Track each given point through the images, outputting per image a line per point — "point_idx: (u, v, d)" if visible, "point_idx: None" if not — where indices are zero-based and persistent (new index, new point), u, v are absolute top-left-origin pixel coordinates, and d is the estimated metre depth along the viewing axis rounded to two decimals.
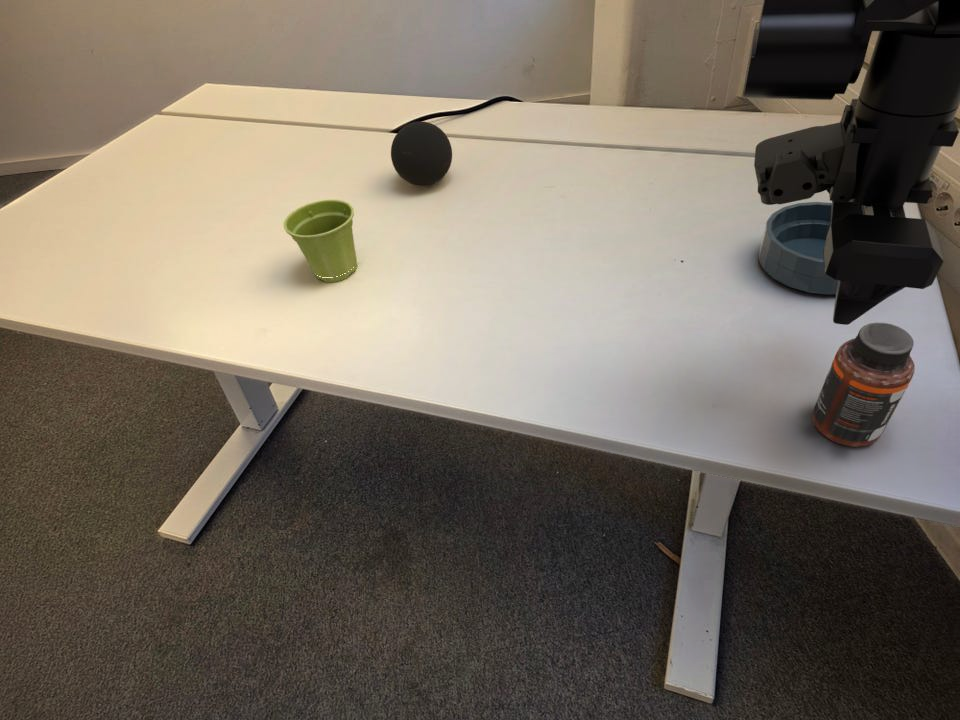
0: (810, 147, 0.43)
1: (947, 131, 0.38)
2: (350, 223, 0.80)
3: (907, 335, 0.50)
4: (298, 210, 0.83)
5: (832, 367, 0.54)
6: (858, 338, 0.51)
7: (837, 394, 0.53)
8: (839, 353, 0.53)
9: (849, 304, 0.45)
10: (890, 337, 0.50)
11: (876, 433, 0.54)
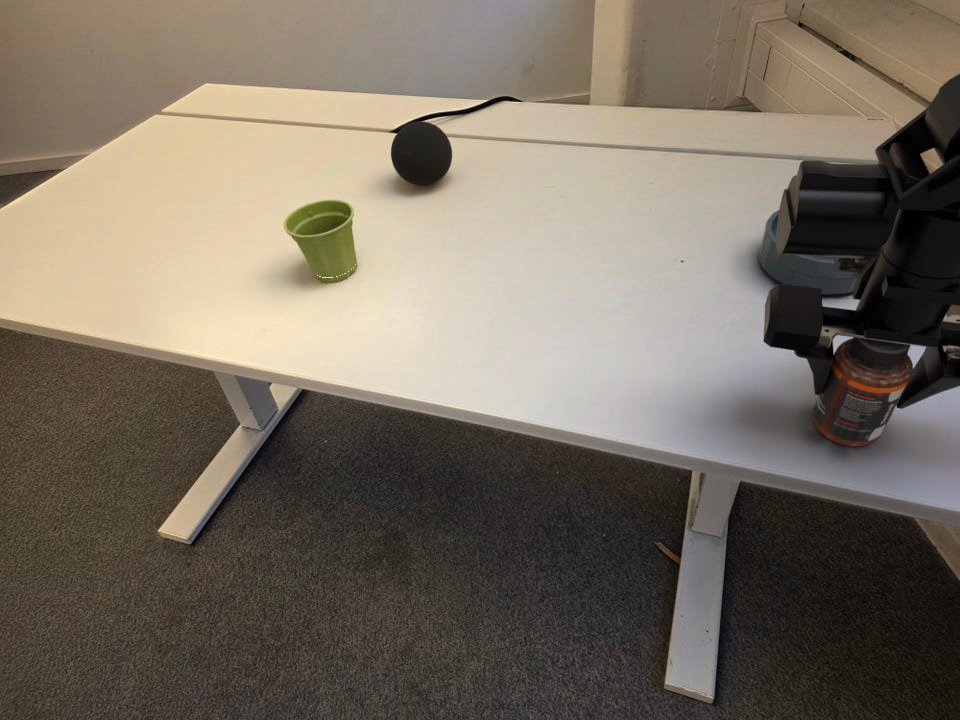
0: None
1: (887, 281, 0.44)
2: (350, 223, 0.80)
3: None
4: (298, 210, 0.83)
5: None
6: (855, 338, 0.51)
7: (836, 394, 0.53)
8: (837, 353, 0.53)
9: None
10: None
11: (876, 432, 0.54)
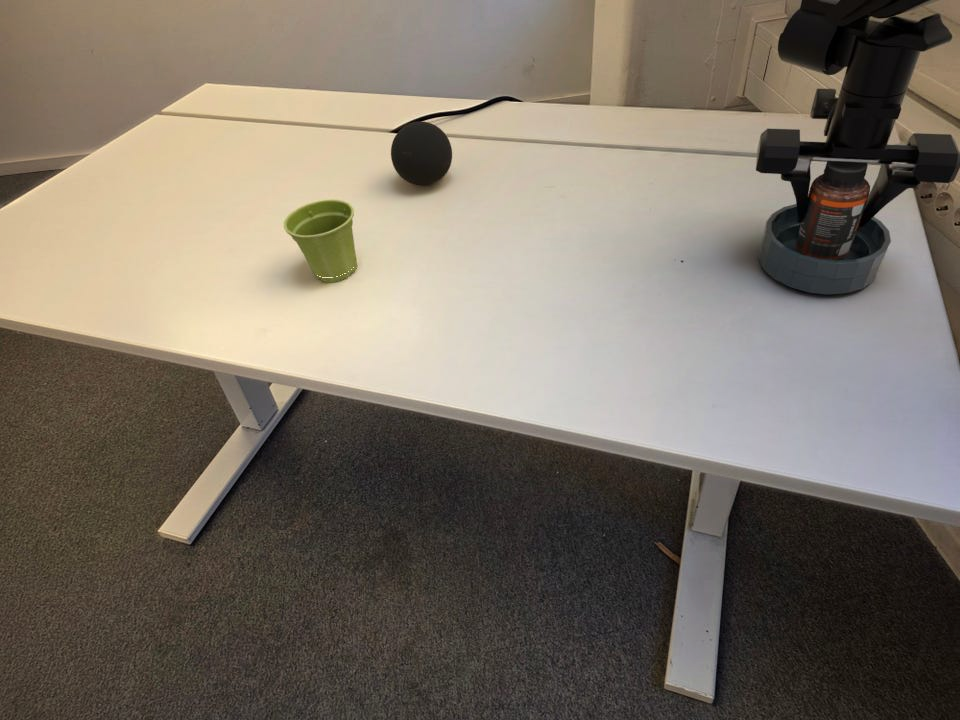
0: None
1: (845, 105, 0.60)
2: (350, 223, 0.80)
3: None
4: (298, 210, 0.83)
5: (808, 196, 0.70)
6: (826, 166, 0.67)
7: (812, 216, 0.69)
8: (813, 183, 0.69)
9: None
10: (849, 163, 0.66)
11: (844, 247, 0.70)
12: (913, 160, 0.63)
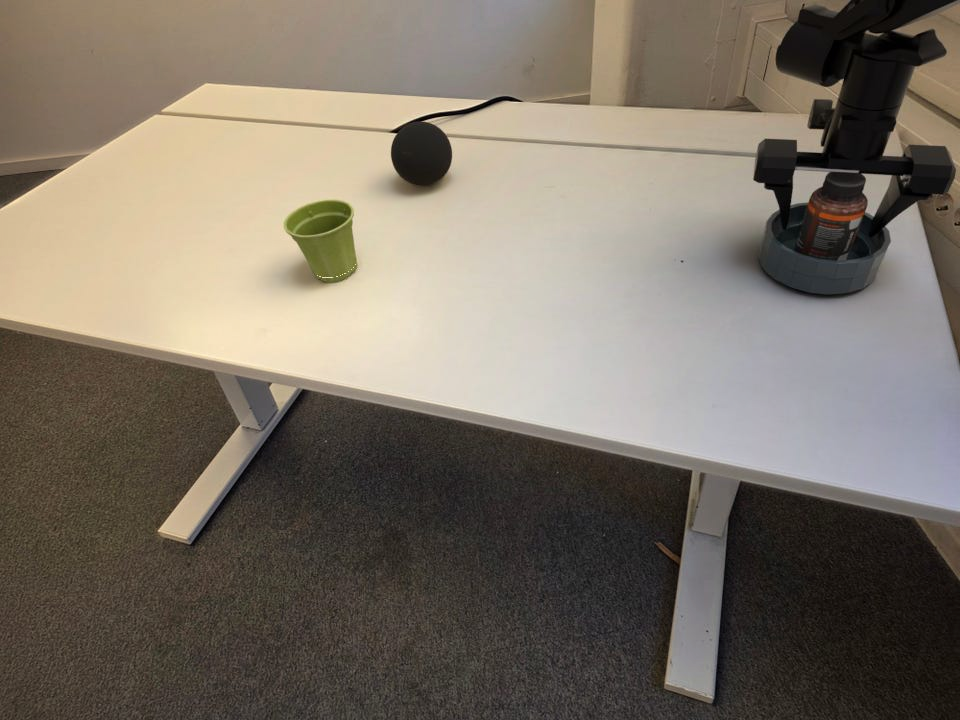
0: None
1: (841, 117, 0.61)
2: (350, 223, 0.80)
3: (861, 175, 0.67)
4: (298, 210, 0.83)
5: (807, 208, 0.71)
6: (825, 180, 0.68)
7: (810, 228, 0.70)
8: (812, 195, 0.70)
9: None
10: (848, 177, 0.67)
11: (840, 260, 0.71)
12: (908, 171, 0.64)
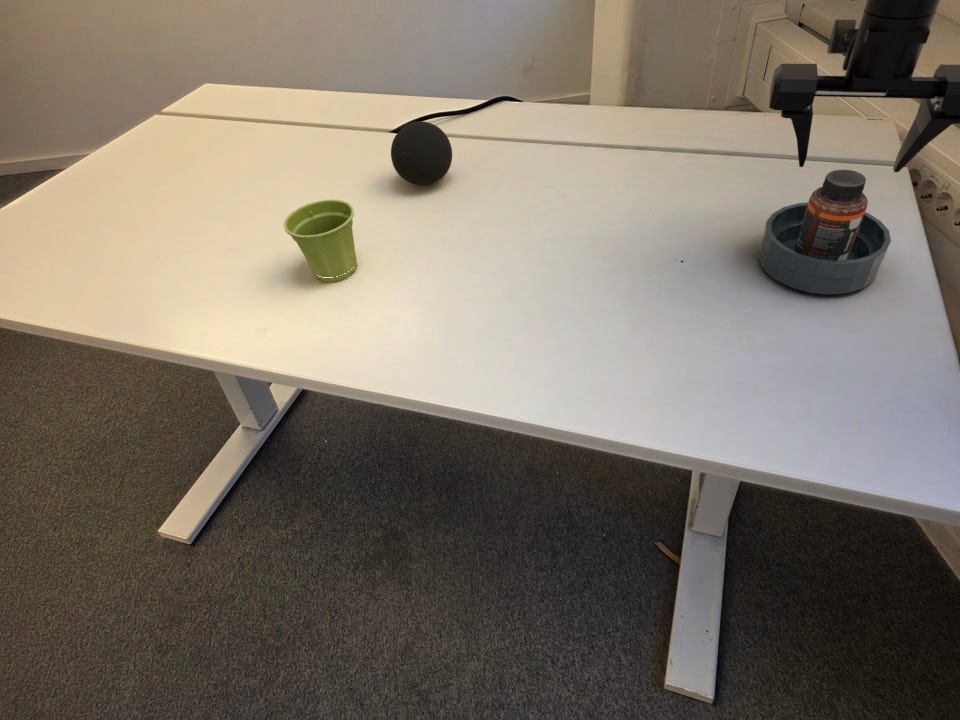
0: None
1: (868, 29, 0.56)
2: (350, 223, 0.80)
3: (861, 175, 0.67)
4: (298, 210, 0.83)
5: (807, 208, 0.71)
6: (825, 180, 0.68)
7: (810, 228, 0.70)
8: (812, 195, 0.70)
9: None
10: (848, 177, 0.67)
11: (840, 260, 0.71)
12: (940, 93, 0.59)
